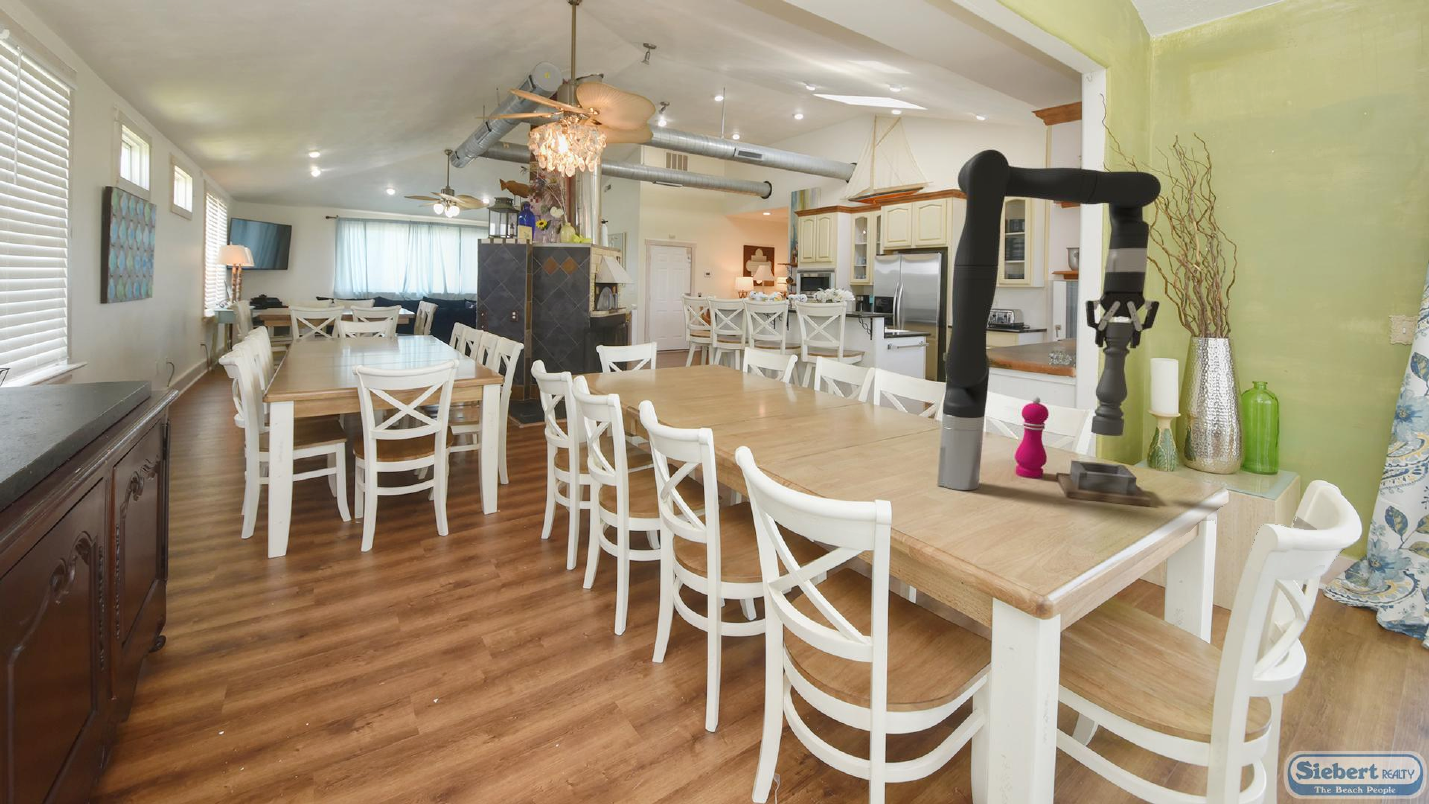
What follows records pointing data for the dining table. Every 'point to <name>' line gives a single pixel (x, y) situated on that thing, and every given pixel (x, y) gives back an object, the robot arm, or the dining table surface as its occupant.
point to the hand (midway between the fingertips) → (1116, 347)
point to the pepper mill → (1032, 441)
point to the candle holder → (1112, 380)
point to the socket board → (1101, 483)
